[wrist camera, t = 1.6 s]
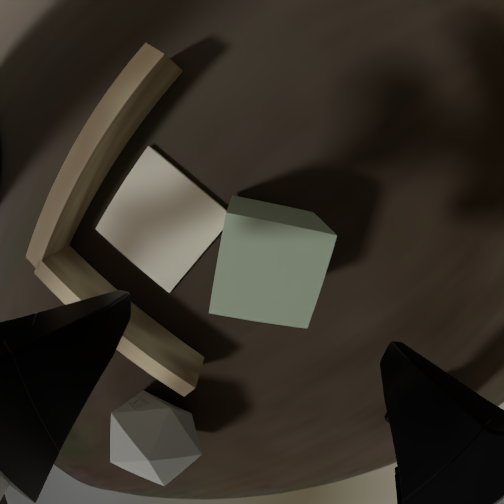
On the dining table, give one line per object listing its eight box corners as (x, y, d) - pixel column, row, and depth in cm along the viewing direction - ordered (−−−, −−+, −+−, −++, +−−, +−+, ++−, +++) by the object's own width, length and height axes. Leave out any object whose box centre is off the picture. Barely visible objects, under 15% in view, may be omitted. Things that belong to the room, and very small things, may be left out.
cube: (313, 212, 17) (337, 235, 13) (293, 285, 19) (307, 328, 14) (232, 195, 17) (226, 212, 12) (218, 272, 18) (208, 312, 14)
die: (174, 364, 23) (78, 414, 16) (236, 442, 20) (147, 506, 13) (158, 388, 28) (86, 426, 21) (206, 449, 25) (137, 495, 18)
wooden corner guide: (351, 214, 17) (369, 227, 14) (194, 366, 22) (184, 397, 18) (166, 60, 14) (145, 42, 11) (51, 246, 19) (24, 261, 16)
